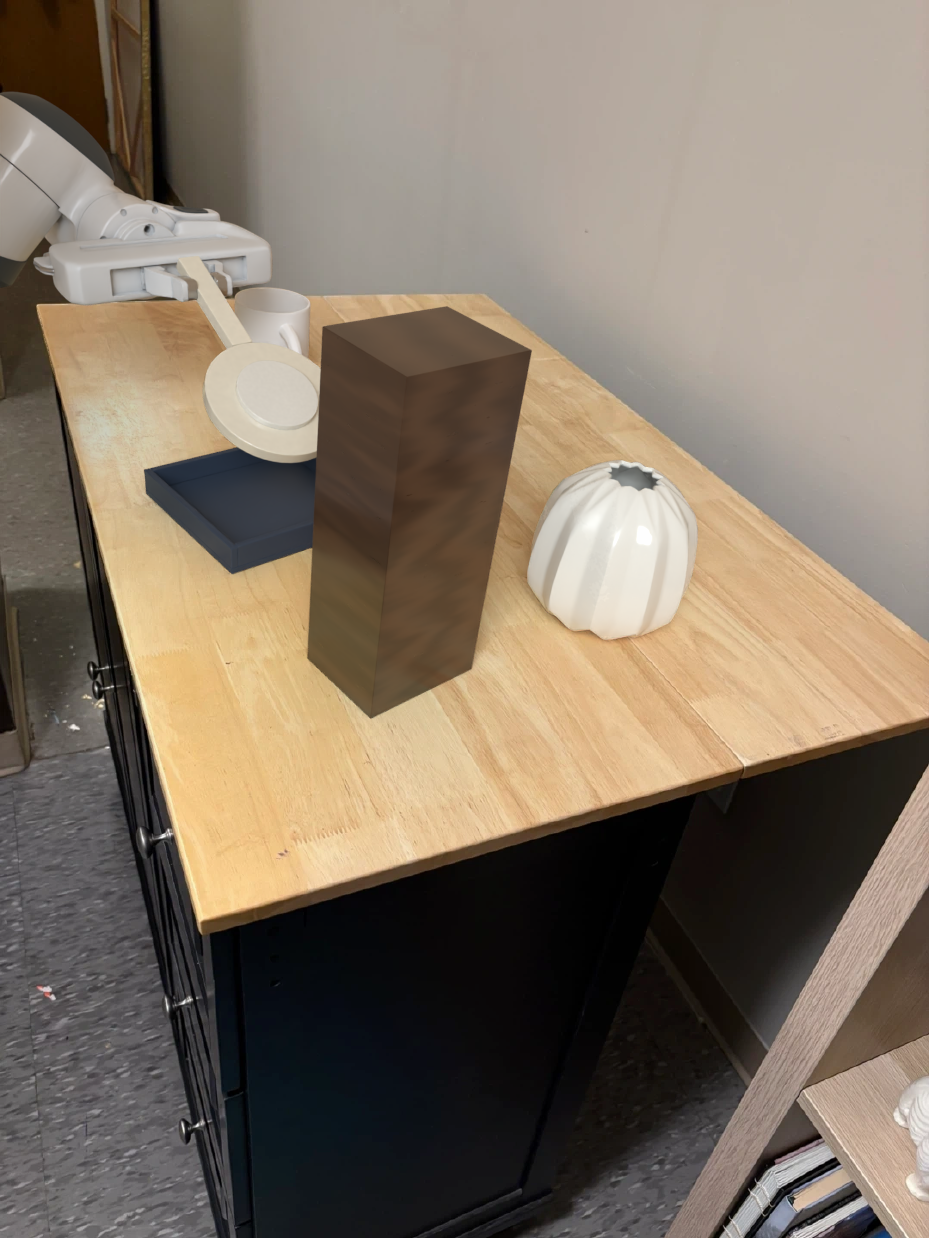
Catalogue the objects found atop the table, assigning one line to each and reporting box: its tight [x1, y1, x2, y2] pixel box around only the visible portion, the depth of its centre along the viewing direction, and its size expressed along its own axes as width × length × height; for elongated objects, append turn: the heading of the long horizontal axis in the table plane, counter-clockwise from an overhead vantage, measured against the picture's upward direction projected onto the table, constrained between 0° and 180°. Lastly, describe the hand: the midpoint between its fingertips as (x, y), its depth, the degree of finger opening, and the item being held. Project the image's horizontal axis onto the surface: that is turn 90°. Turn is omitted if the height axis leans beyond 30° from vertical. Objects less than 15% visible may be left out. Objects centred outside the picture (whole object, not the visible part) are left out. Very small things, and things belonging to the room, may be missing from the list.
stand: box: [306, 305, 533, 719], centre depth 63 cm, size 10×8×26 cm
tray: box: [143, 446, 316, 575], centre depth 85 cm, size 16×15×3 cm
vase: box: [526, 459, 699, 641], centre depth 76 cm, size 14×14×13 cm
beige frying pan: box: [176, 256, 321, 463], centre depth 79 cm, size 12×22×2 cm, turn 42°
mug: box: [234, 286, 312, 360], centre depth 103 cm, size 12×8×10 cm
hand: (208, 290), depth 80 cm, fingers closed on beige frying pan, 2 cm apart
